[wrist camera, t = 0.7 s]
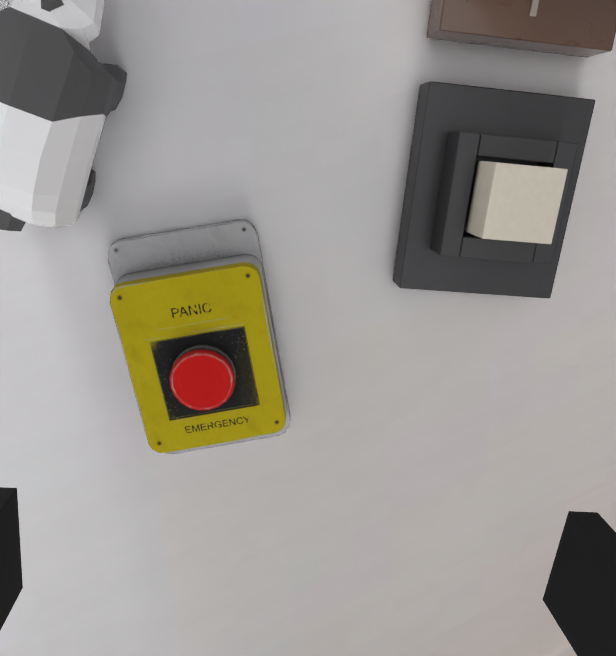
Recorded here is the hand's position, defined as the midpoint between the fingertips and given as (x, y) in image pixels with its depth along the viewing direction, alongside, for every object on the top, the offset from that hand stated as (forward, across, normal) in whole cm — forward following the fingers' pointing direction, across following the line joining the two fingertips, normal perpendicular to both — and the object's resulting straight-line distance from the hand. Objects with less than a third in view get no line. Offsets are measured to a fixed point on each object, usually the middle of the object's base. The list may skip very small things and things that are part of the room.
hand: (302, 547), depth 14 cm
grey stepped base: (+25, +13, +7) cm, 29 cm away
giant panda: (+25, -12, +10) cm, 30 cm away
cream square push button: (+21, +13, +7) cm, 26 cm away
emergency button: (+25, -4, -4) cm, 25 cm away
